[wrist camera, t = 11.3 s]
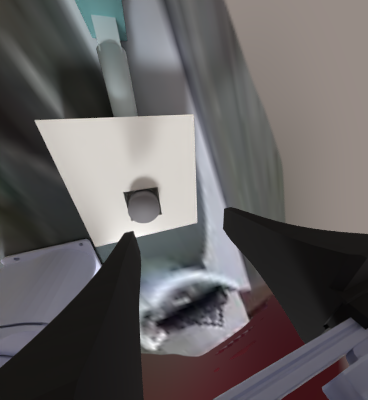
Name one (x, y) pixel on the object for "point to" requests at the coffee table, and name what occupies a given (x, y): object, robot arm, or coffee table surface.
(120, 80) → the block
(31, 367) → the robot arm
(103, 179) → the housing
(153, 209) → the plunger
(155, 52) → the coffee table surface
